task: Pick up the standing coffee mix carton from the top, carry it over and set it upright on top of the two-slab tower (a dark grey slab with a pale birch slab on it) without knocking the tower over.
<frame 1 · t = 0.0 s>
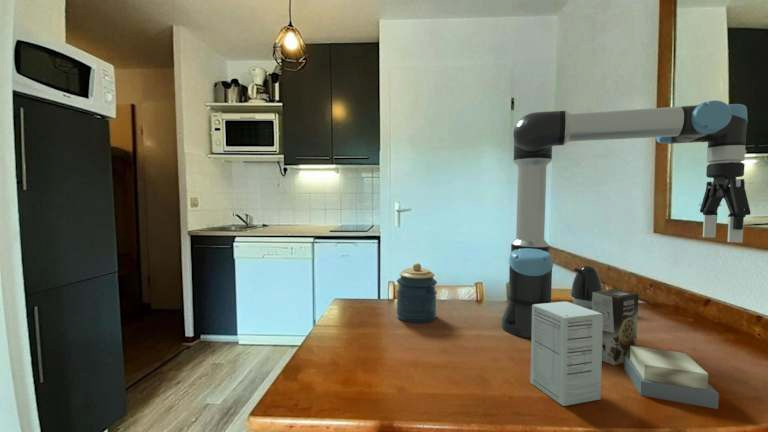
hand: (721, 239, 98), 28 cm above the table, tool pointing down, fingers open, 13 cm apart
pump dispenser: (586, 307, 128), on the table
birch top slab: (665, 372, 73), point 3 cm above the table, touching grey base slab
supplement box: (563, 391, 71), on the table
grey base slab: (666, 389, 73), on the table, touching birch top slab
canister: (416, 317, 115), on the table
coffee box: (612, 357, 87), on the table
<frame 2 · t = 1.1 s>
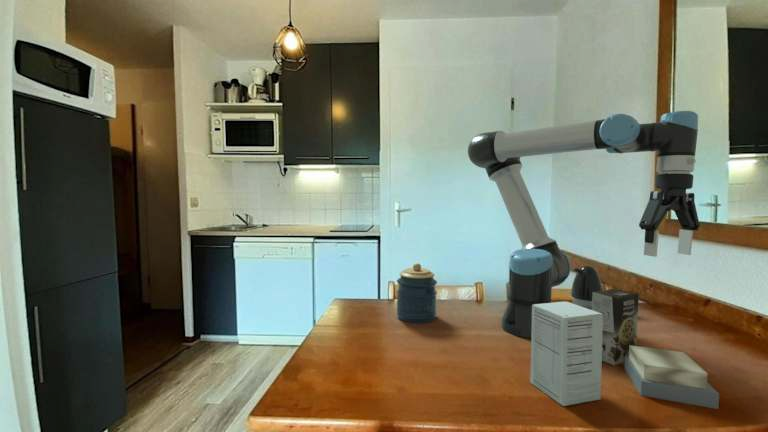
hand: (667, 255, 93), 24 cm above the table, tool pointing down, fingers open, 13 cm apart
nothing on the table moved.
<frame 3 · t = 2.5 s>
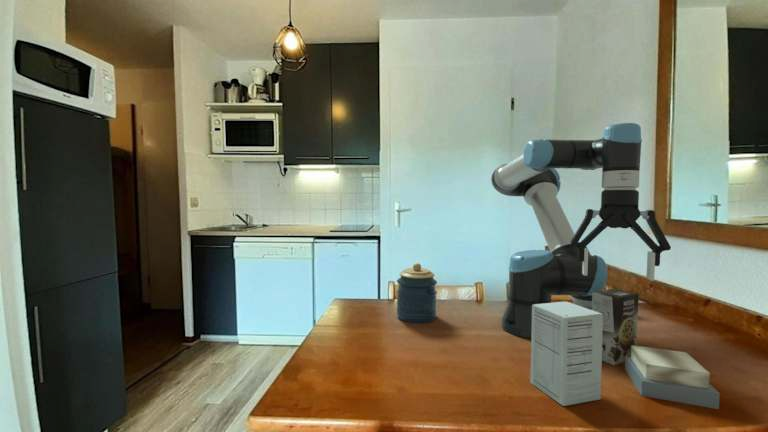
hand: (616, 277, 86), 20 cm above the table, tool pointing down, fingers open, 13 cm apart
nothing on the table moved.
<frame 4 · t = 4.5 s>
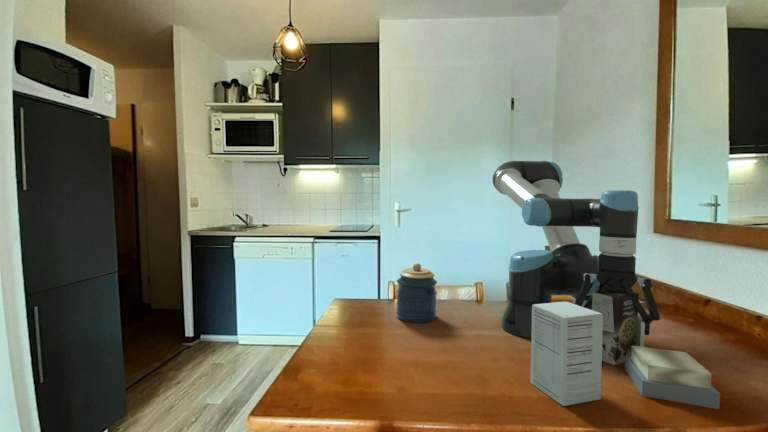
hand: (613, 343, 87), 3 cm above the table, tool pointing down, fingers closed on coffee box, 10 cm apart
coffee box: (612, 357, 87), on the table, touching gripper
everything else where it was.
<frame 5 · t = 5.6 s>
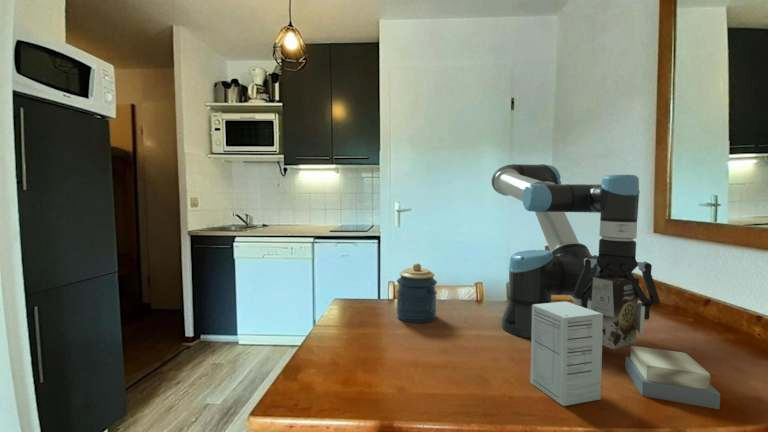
hand: (613, 328, 87), 7 cm above the table, tool pointing down, fingers closed on coffee box, 10 cm apart
coffee box: (612, 342, 87), point 3 cm above the table, touching gripper
everything else where it was.
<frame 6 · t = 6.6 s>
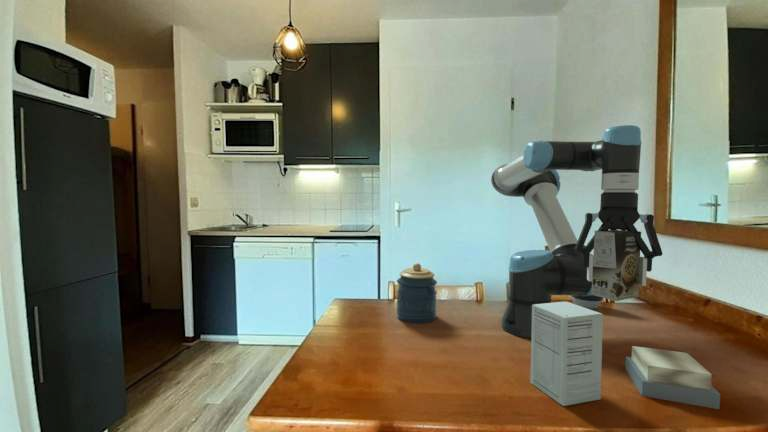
hand: (615, 282, 86), 18 cm above the table, tool pointing down, fingers closed on coffee box, 10 cm apart
coffee box: (614, 296, 86), point 15 cm above the table, touching gripper
everything else where it was.
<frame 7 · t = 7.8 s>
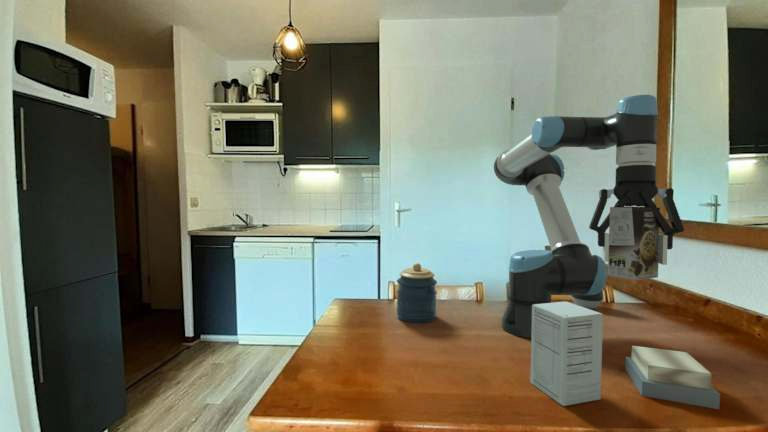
hand: (633, 262, 81), 24 cm above the table, tool pointing down, fingers closed on coffee box, 10 cm apart
coffee box: (632, 277, 81), point 21 cm above the table, touching gripper
everything else where it was.
when the fingers open (11 cm above the table, at t = 10.9 s): coffee box drops 2 cm, resting on birch top slab.
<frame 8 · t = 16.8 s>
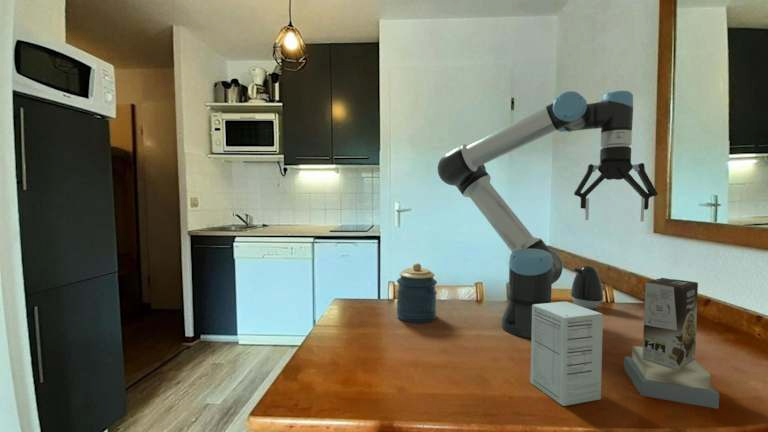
hand: (612, 220, 103), 33 cm above the table, tool pointing down, fingers open, 13 cm apart
birch top slab: (667, 373, 73), point 3 cm above the table, touching coffee box, grey base slab
coffee box: (668, 360, 73), point 6 cm above the table, touching birch top slab
everything else where it was.
at the end: coffee box 0.2 cm from the birch top slab (horizontally); coffee box point 5.6 cm above the table; birch top slab 0.1 cm off-centre on the grey base slab, point 3.5 cm above the grey base slab's base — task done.
